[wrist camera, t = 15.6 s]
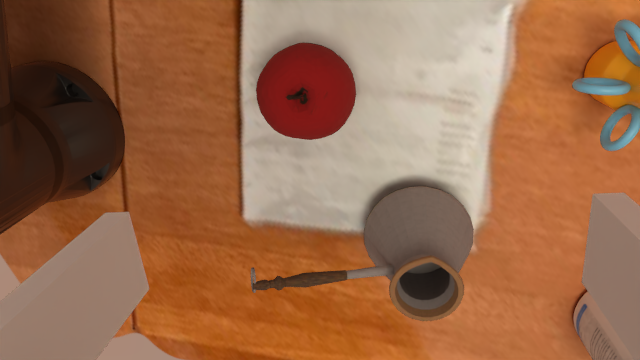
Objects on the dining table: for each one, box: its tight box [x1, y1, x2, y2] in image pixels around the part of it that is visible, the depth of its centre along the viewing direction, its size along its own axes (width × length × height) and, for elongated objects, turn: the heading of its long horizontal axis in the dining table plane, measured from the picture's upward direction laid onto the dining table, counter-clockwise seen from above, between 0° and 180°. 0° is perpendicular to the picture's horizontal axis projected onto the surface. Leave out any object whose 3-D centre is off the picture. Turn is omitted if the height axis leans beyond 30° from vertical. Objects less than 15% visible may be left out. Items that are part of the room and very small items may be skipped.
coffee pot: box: [251, 186, 473, 321], centre depth 47 cm, size 21×12×15 cm, turn 87°
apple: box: [256, 43, 356, 140], centre depth 45 cm, size 9×9×10 cm
